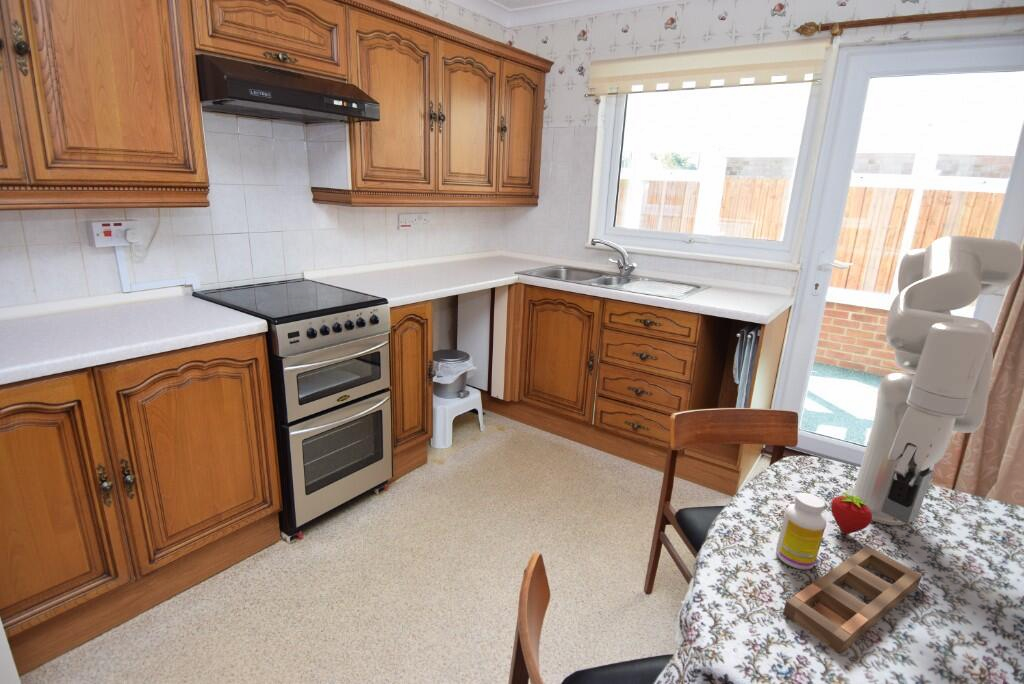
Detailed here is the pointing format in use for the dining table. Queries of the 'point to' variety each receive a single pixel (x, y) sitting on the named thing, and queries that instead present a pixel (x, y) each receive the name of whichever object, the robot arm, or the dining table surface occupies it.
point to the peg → (912, 511)
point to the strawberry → (850, 513)
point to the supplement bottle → (802, 531)
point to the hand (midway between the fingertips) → (904, 497)
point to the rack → (851, 598)
